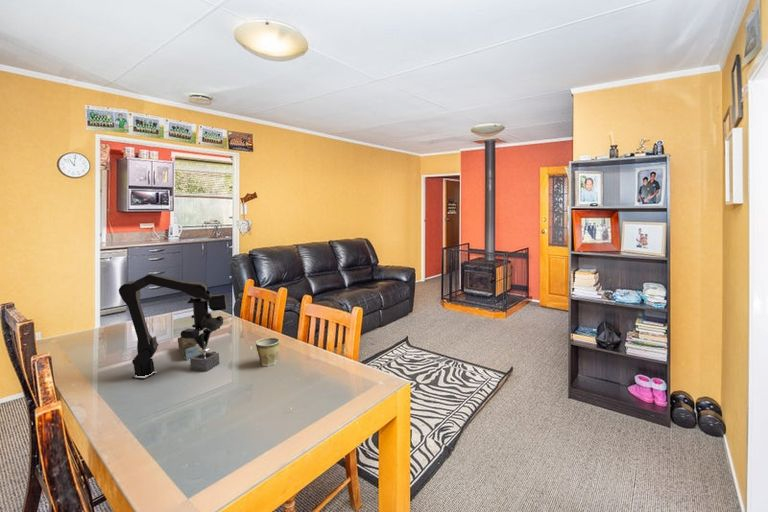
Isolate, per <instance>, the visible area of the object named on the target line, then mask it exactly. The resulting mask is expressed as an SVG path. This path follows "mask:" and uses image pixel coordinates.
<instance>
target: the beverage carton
mask: <svg viewBox="0 0 768 512" xmlns="http://www.w3.org/2000/svg"><path fill="white" fill-rule="evenodd" d="M177 343H178V345H177V346H178V350H179V352H180V353H181V354H182V357H183V358H184V357H185V358H184V359H185V360H187V361H190V360H189V359H190V358H192V357H194V356H196V355H198V354H200V353H202V352H199V351H198V349H199V348H201V347H200V346H199V345H198V343H197V342H196V340H195V339H194V338H192V339H190V338H181V336H180V337H177Z"/></svg>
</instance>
